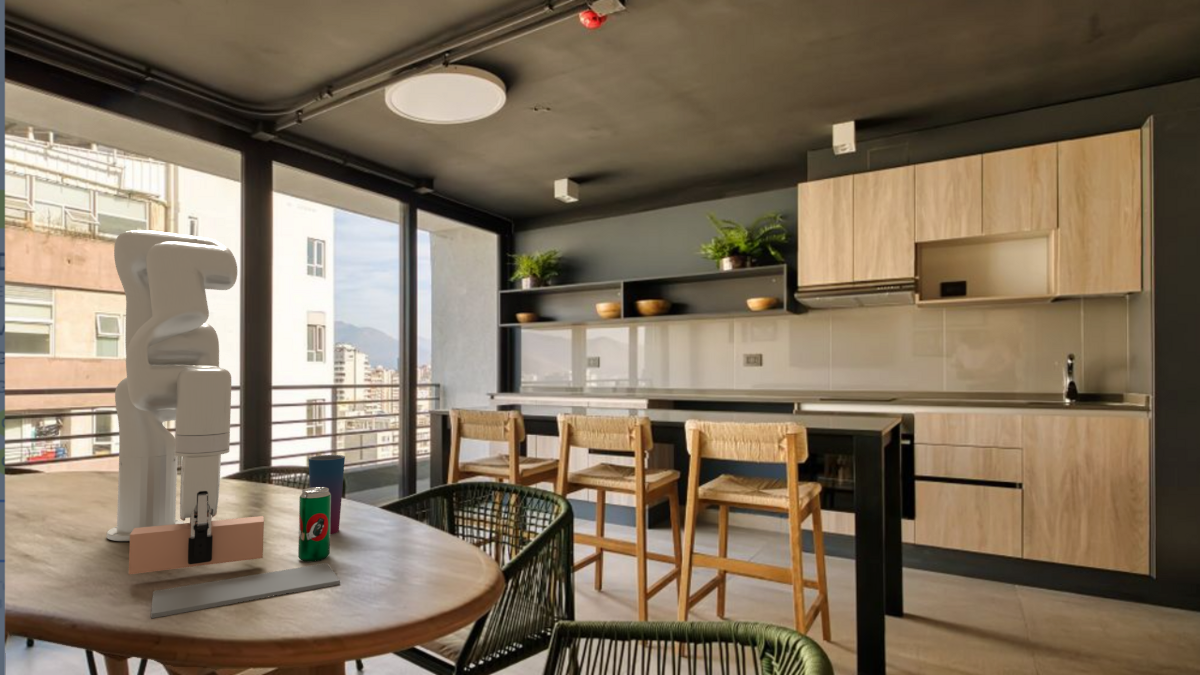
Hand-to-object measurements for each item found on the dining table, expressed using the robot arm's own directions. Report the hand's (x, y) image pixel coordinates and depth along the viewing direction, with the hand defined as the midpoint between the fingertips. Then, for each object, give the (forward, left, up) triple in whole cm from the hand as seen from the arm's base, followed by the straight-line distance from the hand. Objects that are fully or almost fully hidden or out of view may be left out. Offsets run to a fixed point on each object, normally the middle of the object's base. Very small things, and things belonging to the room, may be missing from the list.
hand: (199, 556), depth 103 cm
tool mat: (+11, +6, -3) cm, 13 cm away
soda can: (0, +17, -3) cm, 17 cm away
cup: (-17, +22, -3) cm, 28 cm away
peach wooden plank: (0, 0, -1) cm, 1 cm away
